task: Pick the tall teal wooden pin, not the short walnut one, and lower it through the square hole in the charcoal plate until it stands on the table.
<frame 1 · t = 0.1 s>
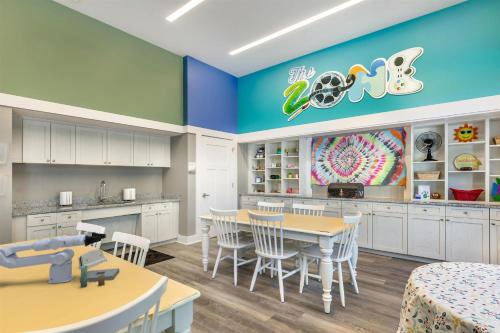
hand: (103, 237, 143), 22 cm above the table, tool horizontal, fingers open, 7 cm apart
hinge: (92, 265, 162), on the table
long pin: (83, 286, 129), on the table
hole plate: (100, 276, 142), on the table
short pin: (101, 284, 131), on the table
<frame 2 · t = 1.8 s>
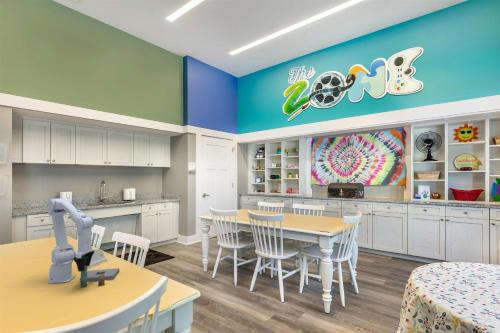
hand: (84, 268, 129), 9 cm above the table, tool pointing down, fingers open, 7 cm apart
nothing on the table moved.
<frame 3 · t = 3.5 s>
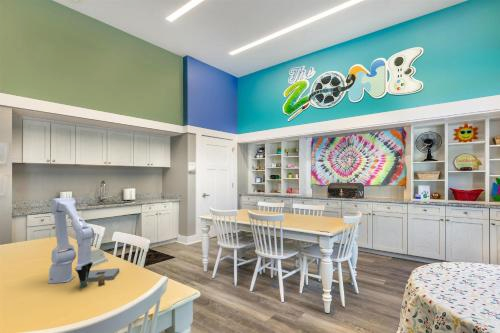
hand: (83, 279, 129), 3 cm above the table, tool pointing down, fingers closed on long pin, 3 cm apart
long pin: (83, 286, 129), on the table, touching gripper
everything else where it was.
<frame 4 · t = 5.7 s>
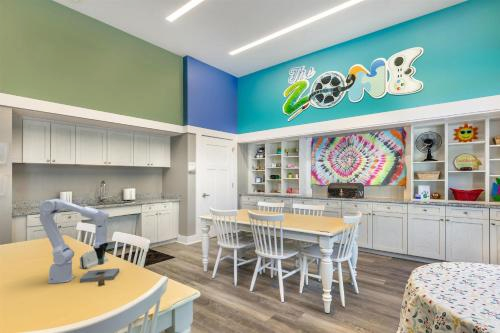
hand: (100, 257, 142), 10 cm above the table, tool pointing down, fingers closed on long pin, 3 cm apart
long pin: (100, 264, 142), point 7 cm above the table, touching gripper
everything else where it was.
when the fingers open (4 cm above the table, at t = 7.9 s): long pin stays where it is, resting in hole plate.
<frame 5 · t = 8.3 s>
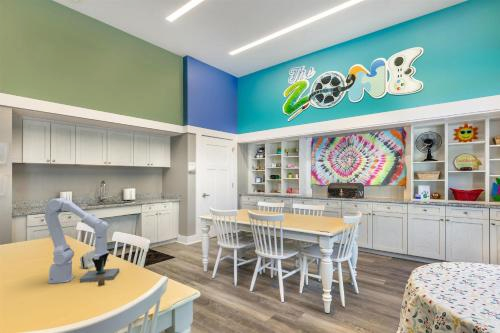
hand: (100, 268, 142), 4 cm above the table, tool pointing down, fingers open, 6 cm apart
long pin: (100, 276, 142), resting in hole plate
everything else where it was.
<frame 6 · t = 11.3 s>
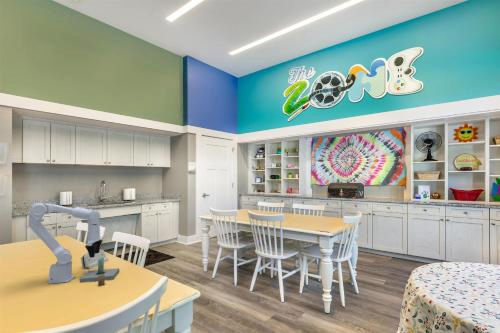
hand: (94, 255, 147), 10 cm above the table, tool pointing down, fingers open, 7 cm apart
at the end: long pin 0.0 cm off-centre on the hole plate, point 0.0 cm above the hole plate's base; long pin tilted 0°; short pin moved 0.0 cm from its start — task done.
